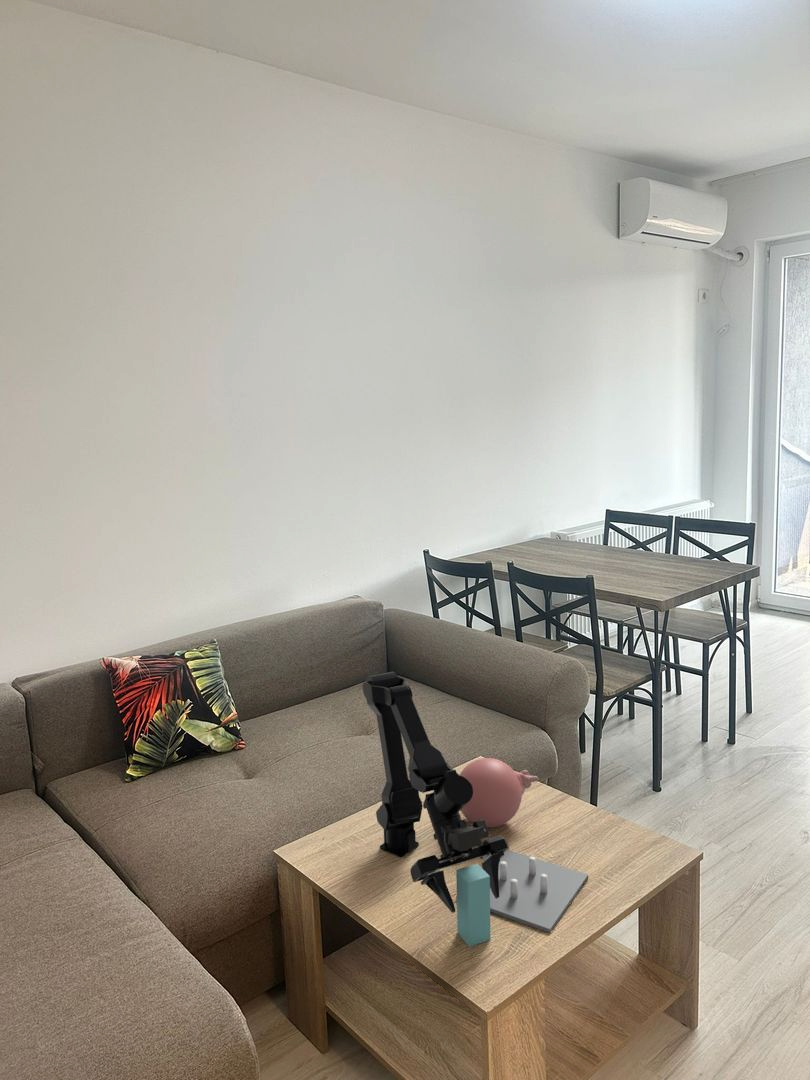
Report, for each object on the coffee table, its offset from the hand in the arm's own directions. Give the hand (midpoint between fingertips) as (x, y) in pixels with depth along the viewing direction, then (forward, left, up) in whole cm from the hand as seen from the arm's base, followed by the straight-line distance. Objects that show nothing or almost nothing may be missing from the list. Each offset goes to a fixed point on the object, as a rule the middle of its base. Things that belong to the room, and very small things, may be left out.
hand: (476, 905), depth 152 cm
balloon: (-19, +37, -7) cm, 43 cm away
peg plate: (-1, +18, -7) cm, 20 cm away
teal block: (-1, 0, -7) cm, 7 cm away
